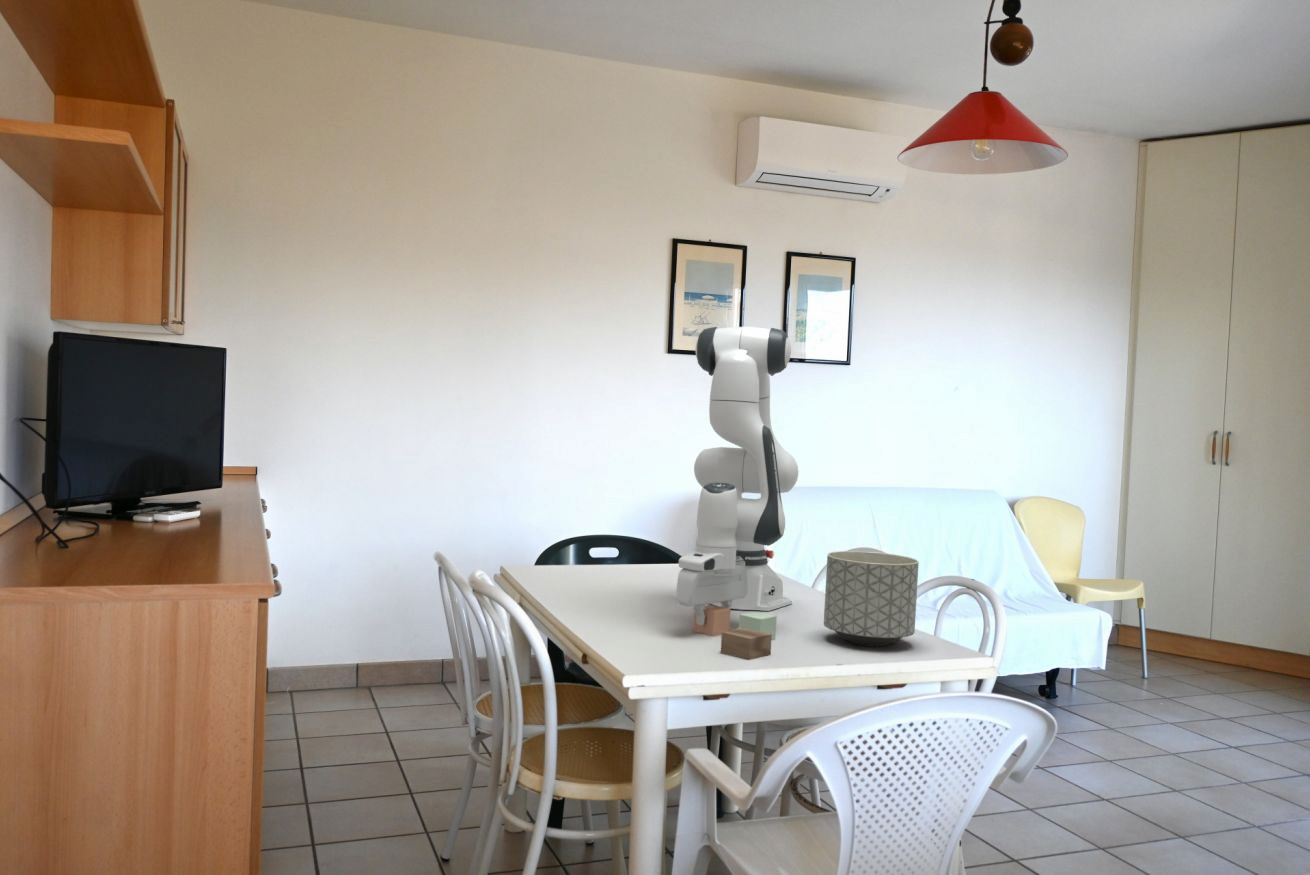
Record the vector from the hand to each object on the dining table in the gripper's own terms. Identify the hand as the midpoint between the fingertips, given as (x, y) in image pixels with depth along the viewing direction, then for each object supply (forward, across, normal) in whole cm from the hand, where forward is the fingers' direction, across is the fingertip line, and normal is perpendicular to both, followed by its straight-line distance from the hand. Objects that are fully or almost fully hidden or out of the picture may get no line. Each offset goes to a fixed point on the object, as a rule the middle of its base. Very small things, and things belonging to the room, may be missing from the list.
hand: (711, 622), depth 215 cm
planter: (+2, -21, +26) cm, 33 cm away
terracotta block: (+2, 0, 0) cm, 2 cm away
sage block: (+2, -3, +10) cm, 11 cm away
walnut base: (+2, +10, +17) cm, 20 cm away
